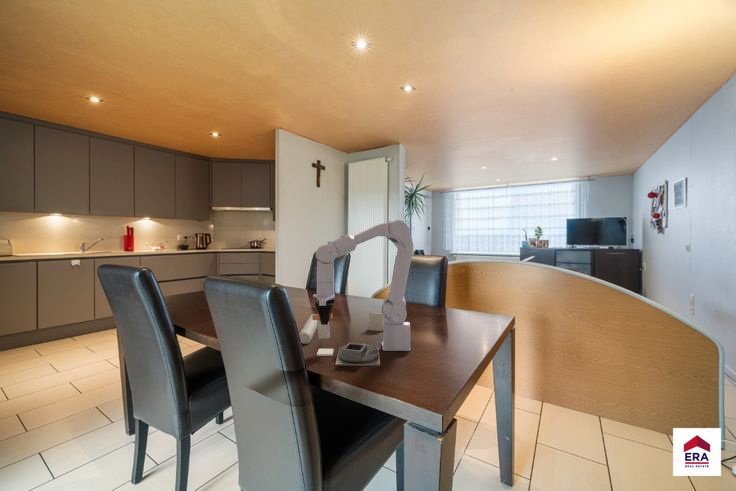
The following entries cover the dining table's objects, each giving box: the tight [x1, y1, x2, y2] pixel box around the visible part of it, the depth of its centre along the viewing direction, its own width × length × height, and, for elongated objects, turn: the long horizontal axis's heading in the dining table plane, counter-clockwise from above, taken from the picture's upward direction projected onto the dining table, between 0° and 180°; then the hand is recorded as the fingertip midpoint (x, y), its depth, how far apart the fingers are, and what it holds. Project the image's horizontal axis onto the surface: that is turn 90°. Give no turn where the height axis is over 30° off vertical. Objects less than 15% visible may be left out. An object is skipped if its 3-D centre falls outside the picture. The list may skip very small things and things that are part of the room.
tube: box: [298, 313, 318, 345], centre depth 124 cm, size 5×5×25 cm
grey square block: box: [368, 312, 384, 332], centre depth 131 cm, size 3×7×7 cm, turn 76°
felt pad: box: [316, 348, 335, 357], centre depth 104 cm, size 5×5×1 cm
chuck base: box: [335, 347, 381, 367], centre depth 101 cm, size 13×13×1 cm
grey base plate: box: [337, 342, 380, 363], centre depth 101 cm, size 13×13×4 cm
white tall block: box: [312, 312, 333, 340], centre depth 104 cm, size 6×3×8 cm, turn 90°
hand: (325, 322), depth 104 cm, fingers closed on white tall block, 3 cm apart
